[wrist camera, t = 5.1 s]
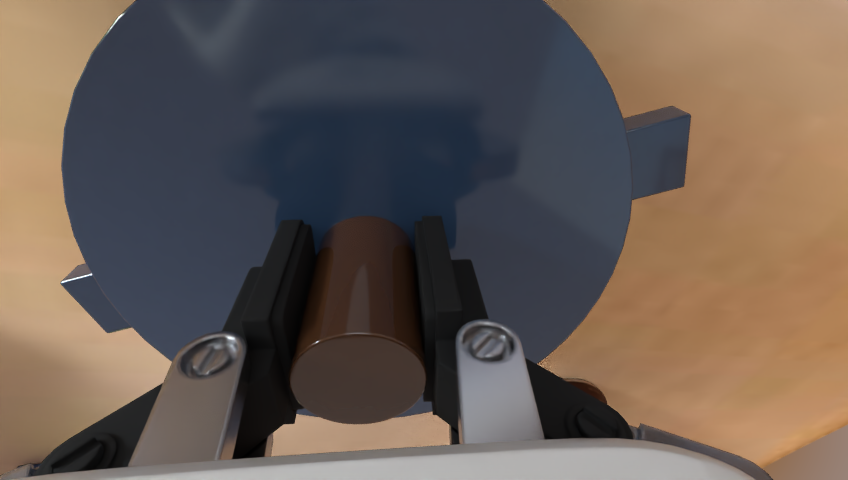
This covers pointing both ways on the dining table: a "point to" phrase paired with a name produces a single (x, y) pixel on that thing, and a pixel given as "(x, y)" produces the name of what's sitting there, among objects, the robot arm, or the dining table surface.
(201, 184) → the pot lid
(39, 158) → the dining table surface
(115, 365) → the dining table surface
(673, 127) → the pot
